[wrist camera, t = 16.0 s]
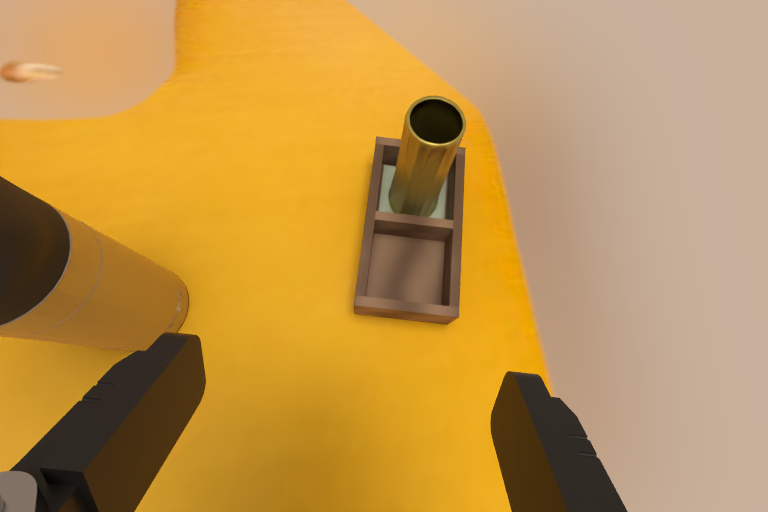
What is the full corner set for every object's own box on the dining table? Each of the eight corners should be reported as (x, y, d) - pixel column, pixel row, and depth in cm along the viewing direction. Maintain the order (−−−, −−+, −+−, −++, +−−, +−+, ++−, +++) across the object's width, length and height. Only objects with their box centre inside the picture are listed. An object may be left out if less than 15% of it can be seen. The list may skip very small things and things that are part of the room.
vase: (419, 168, 46) (444, 81, 32) (447, 206, 44) (486, 131, 31) (378, 190, 44) (386, 108, 31) (406, 230, 43) (427, 162, 29)
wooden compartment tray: (354, 313, 41) (354, 305, 36) (374, 161, 47) (376, 136, 42) (447, 324, 41) (458, 317, 36) (454, 171, 47) (465, 147, 42)
